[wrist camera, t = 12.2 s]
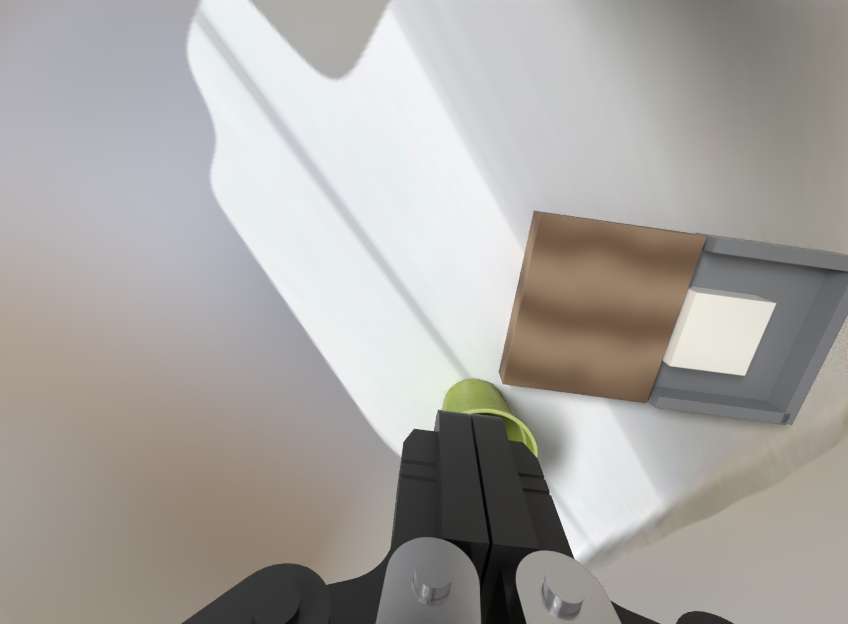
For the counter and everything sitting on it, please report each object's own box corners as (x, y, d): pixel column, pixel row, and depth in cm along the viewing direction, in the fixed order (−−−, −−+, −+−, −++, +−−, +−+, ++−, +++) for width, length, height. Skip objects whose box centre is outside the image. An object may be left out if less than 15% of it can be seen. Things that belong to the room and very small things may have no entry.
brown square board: (534, 210, 36) (541, 213, 34) (688, 232, 36) (706, 237, 34) (498, 371, 41) (502, 384, 39) (634, 389, 41) (646, 403, 39)
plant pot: (409, 390, 42) (404, 443, 34) (489, 346, 40) (504, 391, 32) (456, 454, 45) (462, 518, 36) (533, 415, 43) (557, 473, 34)
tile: (679, 284, 37) (696, 292, 35) (754, 294, 37) (776, 303, 35) (655, 354, 39) (669, 366, 37) (726, 363, 39) (744, 375, 37)
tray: (692, 232, 36) (714, 237, 33) (840, 253, 37) (875, 260, 34) (636, 391, 41) (652, 407, 39) (767, 408, 42) (791, 425, 39)
